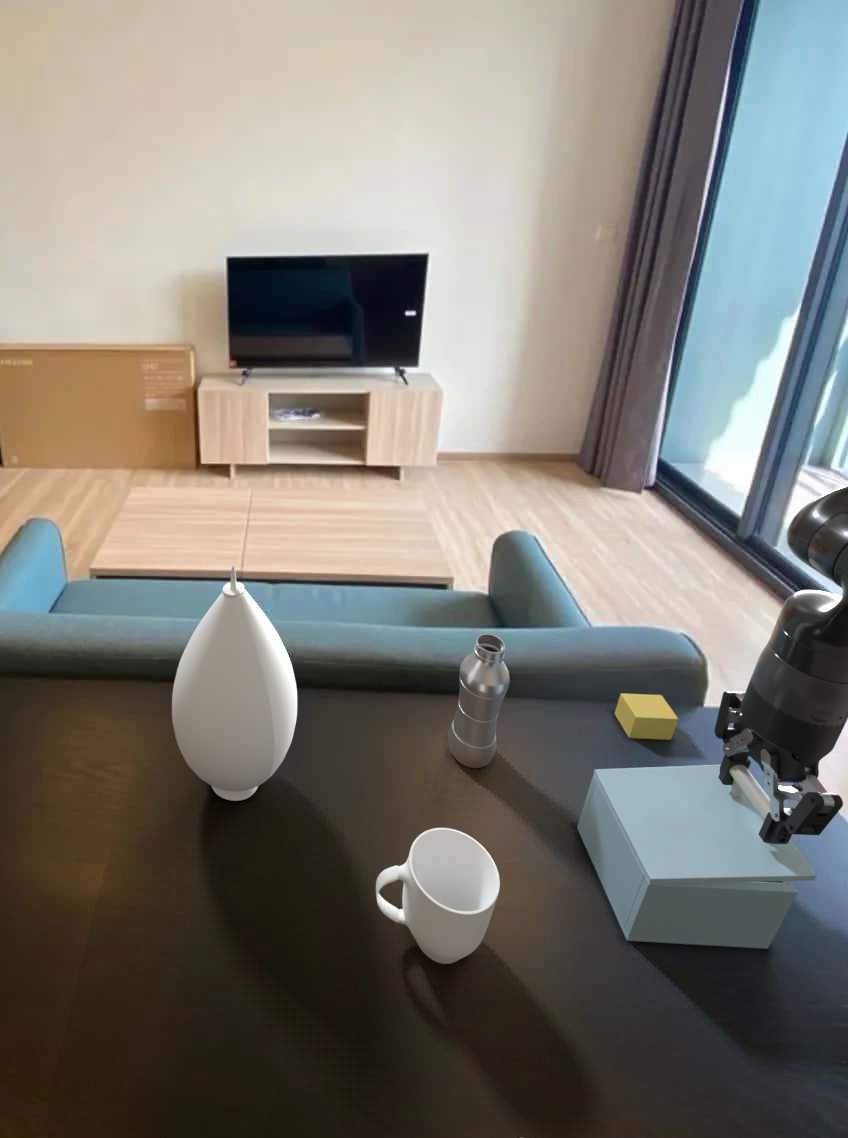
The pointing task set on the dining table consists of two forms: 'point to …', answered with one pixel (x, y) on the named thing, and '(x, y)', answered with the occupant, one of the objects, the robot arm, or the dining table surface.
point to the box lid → (698, 825)
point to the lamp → (234, 696)
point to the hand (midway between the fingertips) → (748, 809)
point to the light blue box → (677, 893)
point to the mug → (444, 893)
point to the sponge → (646, 716)
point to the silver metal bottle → (479, 702)
